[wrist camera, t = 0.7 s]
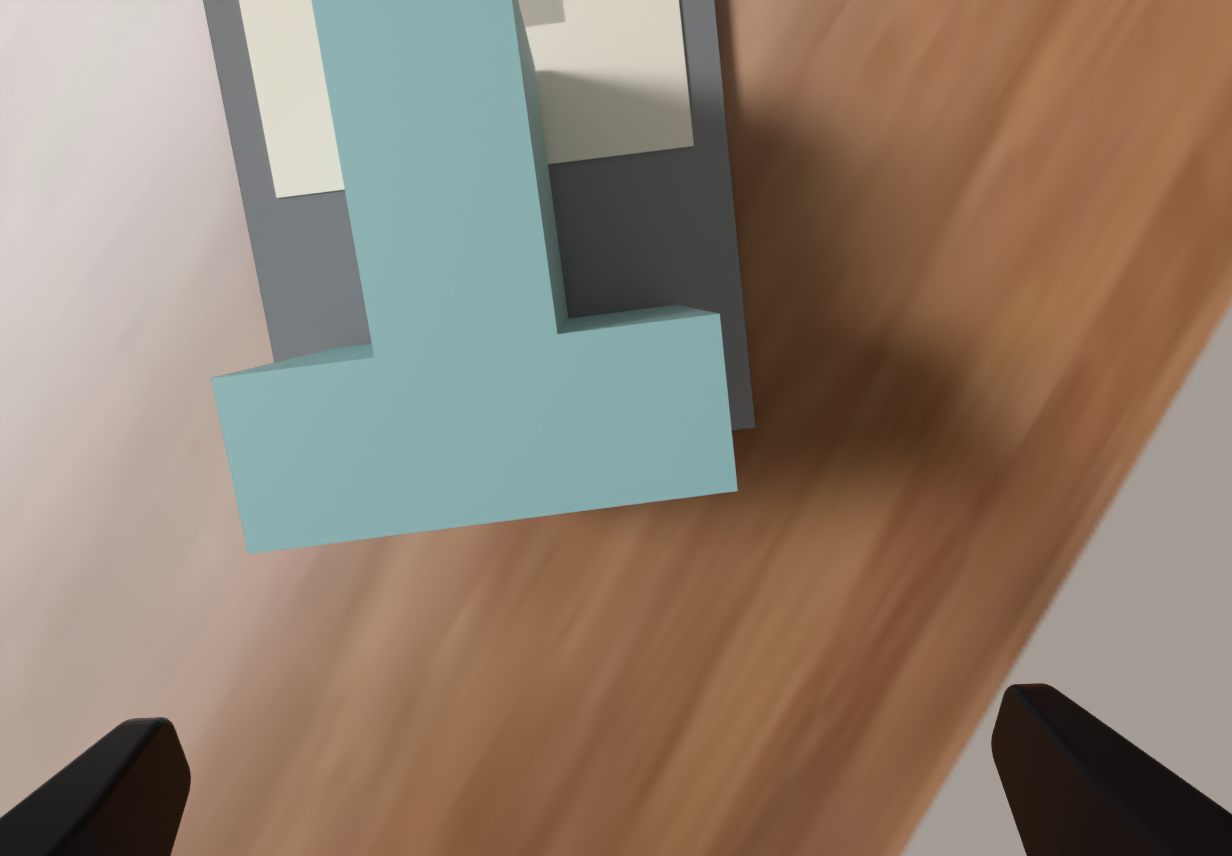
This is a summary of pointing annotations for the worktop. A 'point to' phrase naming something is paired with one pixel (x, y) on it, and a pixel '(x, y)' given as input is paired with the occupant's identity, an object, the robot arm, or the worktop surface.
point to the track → (576, 154)
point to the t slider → (463, 317)
